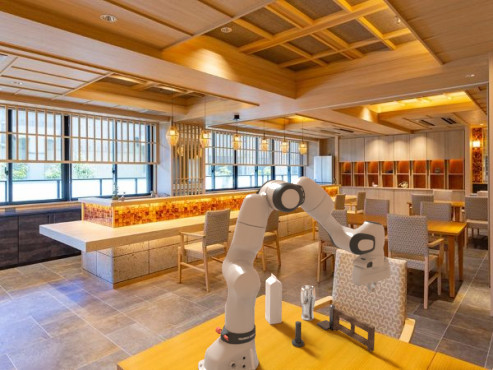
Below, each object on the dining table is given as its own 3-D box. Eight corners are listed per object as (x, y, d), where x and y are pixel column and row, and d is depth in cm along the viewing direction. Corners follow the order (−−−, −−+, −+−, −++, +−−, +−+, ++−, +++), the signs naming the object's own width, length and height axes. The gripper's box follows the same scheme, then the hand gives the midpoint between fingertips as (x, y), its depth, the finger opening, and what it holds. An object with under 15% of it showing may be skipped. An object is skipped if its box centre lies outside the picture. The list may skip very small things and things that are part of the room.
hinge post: (329, 332, 146) (329, 308, 145) (316, 324, 152) (317, 301, 151) (338, 328, 149) (339, 305, 148) (326, 321, 155) (326, 298, 155)
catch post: (297, 348, 133) (297, 326, 132) (289, 342, 137) (289, 321, 137) (306, 344, 135) (307, 323, 135) (298, 339, 140) (299, 318, 139)
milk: (269, 324, 152) (270, 278, 150) (265, 318, 158) (265, 273, 156) (281, 322, 154) (282, 276, 152) (276, 316, 160) (277, 272, 158)
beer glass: (314, 314, 162) (314, 285, 161) (315, 321, 155) (316, 290, 154) (299, 313, 163) (300, 284, 162) (300, 320, 156) (301, 289, 155)
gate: (333, 329, 146) (333, 308, 146) (337, 327, 148) (337, 307, 147) (371, 351, 129) (371, 328, 129) (375, 349, 131) (376, 326, 130)
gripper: (381, 254, 146) (380, 284, 147) (349, 261, 135) (348, 294, 136) (394, 257, 141) (393, 289, 142) (362, 265, 130) (361, 299, 131)
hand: (371, 291), depth 139 cm, fingers closed
